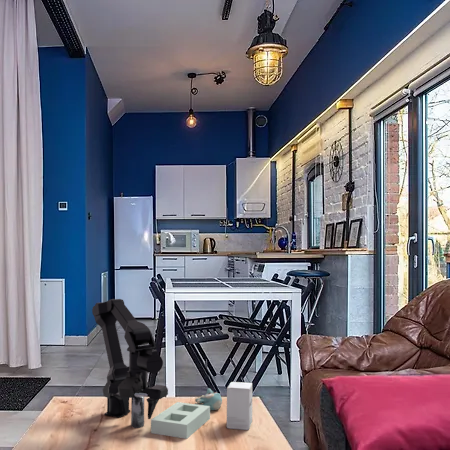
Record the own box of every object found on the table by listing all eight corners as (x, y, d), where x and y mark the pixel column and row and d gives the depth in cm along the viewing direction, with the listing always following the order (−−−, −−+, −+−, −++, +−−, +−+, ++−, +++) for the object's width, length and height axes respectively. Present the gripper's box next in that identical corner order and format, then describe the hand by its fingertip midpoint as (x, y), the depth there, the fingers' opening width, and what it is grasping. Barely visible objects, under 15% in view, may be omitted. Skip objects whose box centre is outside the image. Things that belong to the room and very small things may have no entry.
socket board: (150, 433, 146) (151, 419, 146) (177, 414, 163) (177, 402, 163) (186, 438, 142) (186, 424, 142) (210, 418, 159) (210, 406, 159)
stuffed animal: (207, 385, 179) (229, 385, 170) (210, 405, 178) (231, 407, 169) (184, 390, 172) (205, 391, 163) (186, 411, 171) (207, 413, 162)
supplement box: (249, 430, 149) (249, 388, 149) (225, 428, 150) (226, 387, 151) (252, 422, 156) (252, 382, 156) (230, 420, 157) (230, 381, 158)
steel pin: (128, 426, 151) (129, 397, 152) (135, 422, 155) (135, 394, 155) (139, 428, 150) (140, 399, 150) (146, 424, 153) (146, 395, 154)
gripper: (98, 370, 149) (97, 421, 148) (151, 376, 142) (151, 430, 142) (118, 362, 159) (117, 410, 159) (169, 367, 153) (168, 417, 152)
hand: (137, 417), depth 152 cm, fingers open, 8 cm apart
